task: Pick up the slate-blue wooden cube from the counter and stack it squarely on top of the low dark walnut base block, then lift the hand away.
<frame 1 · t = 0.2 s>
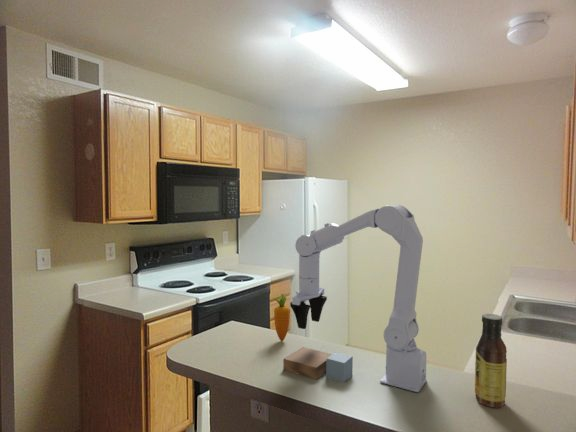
hand: (308, 324, 114), 10 cm above the counter, tool pointing down, fingers open, 7 cm apart
slate-blue cube: (339, 376, 103), on the counter
walnut base: (309, 367, 108), on the counter
carrot: (281, 342, 128), on the counter
sauce bottle: (489, 403, 91), on the counter
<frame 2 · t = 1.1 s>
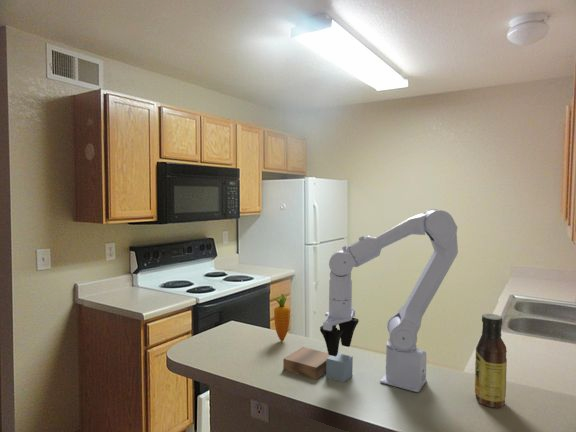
hand: (339, 350, 103), 7 cm above the counter, tool pointing down, fingers open, 7 cm apart
nothing on the counter moved.
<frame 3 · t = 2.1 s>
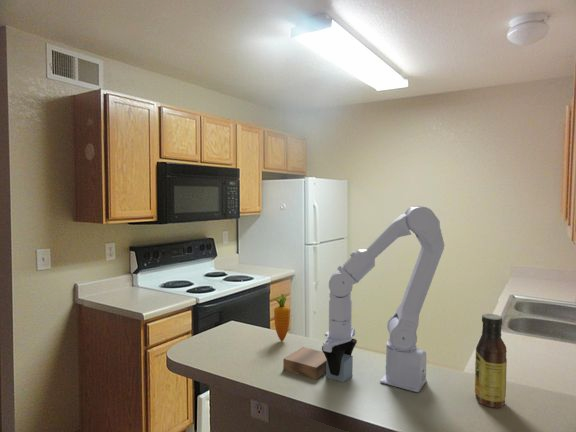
hand: (339, 370, 103), 1 cm above the counter, tool pointing down, fingers closed on slate-blue cube, 5 cm apart
slate-blue cube: (339, 376, 103), on the counter, touching gripper
everything else where it was.
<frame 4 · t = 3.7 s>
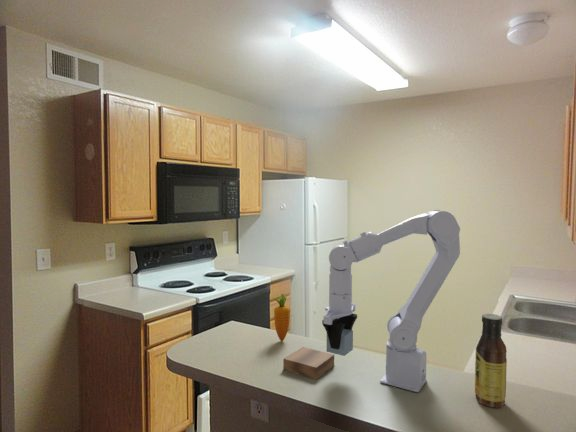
hand: (339, 344, 103), 8 cm above the counter, tool pointing down, fingers closed on slate-blue cube, 5 cm apart
slate-blue cube: (339, 350, 103), point 7 cm above the counter, touching gripper
everything else where it was.
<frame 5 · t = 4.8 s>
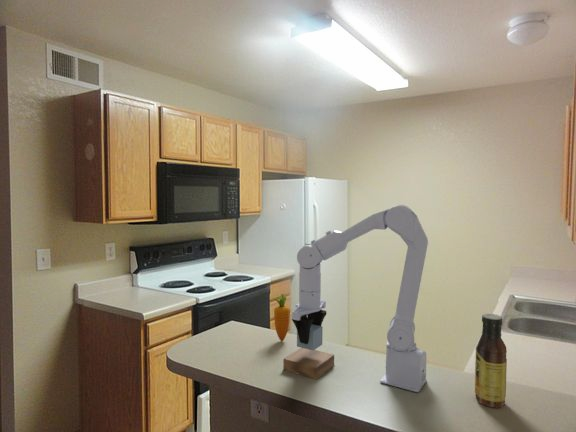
hand: (309, 339, 108), 8 cm above the counter, tool pointing down, fingers closed on slate-blue cube, 5 cm apart
slate-blue cube: (309, 345, 108), point 6 cm above the counter, touching gripper
everything else where it was.
when the fingers open (5 cm above the counter, at t = 5.6 s): slate-blue cube stays where it is, resting on walnut base.
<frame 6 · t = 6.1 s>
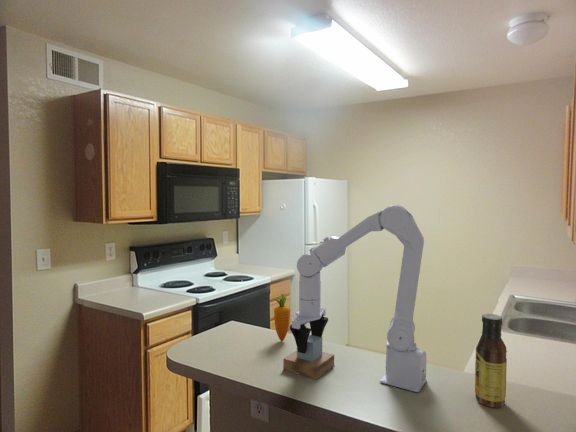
hand: (309, 347, 108), 5 cm above the counter, tool pointing down, fingers open, 7 cm apart
slate-blue cube: (309, 356, 108), point 3 cm above the counter, touching walnut base
everything else where it was.
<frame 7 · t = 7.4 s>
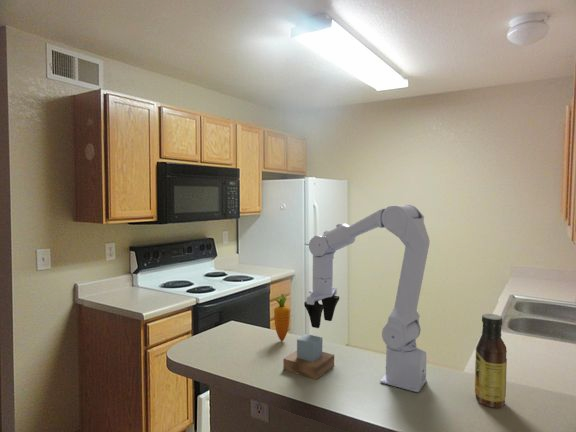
hand: (322, 323, 116), 9 cm above the counter, tool pointing down, fingers open, 7 cm apart
nothing on the counter moved.
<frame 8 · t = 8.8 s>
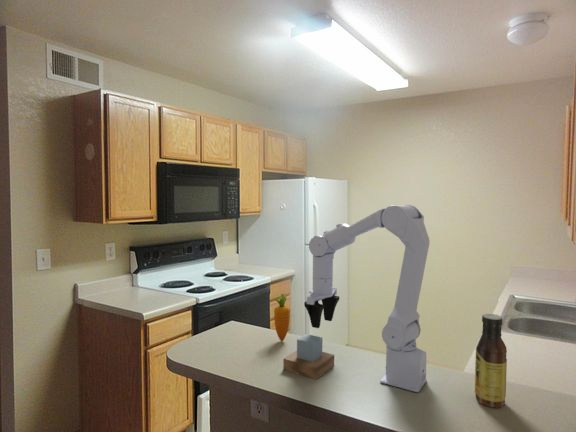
hand: (322, 323, 116), 9 cm above the counter, tool pointing down, fingers open, 7 cm apart
nothing on the counter moved.
at the end: slate-blue cube 0.1 cm off-centre on the walnut base, point 3.0 cm above the walnut base's base; slate-blue cube tilted 0°; the gripper is holding nothing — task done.
